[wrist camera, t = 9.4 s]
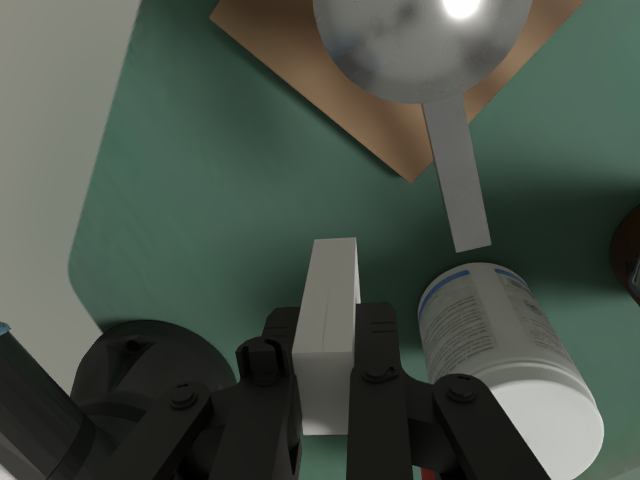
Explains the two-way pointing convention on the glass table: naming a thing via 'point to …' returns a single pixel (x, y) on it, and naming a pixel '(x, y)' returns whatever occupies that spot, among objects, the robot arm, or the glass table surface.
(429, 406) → the robot arm
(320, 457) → the glass table surface
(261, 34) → the square wooden board
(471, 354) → the supplement tub
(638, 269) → the olive oil
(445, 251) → the glass table surface
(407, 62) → the disc with handle bar
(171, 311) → the glass table surface
